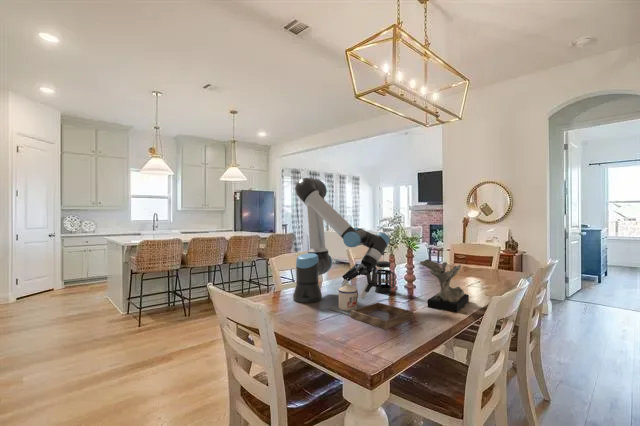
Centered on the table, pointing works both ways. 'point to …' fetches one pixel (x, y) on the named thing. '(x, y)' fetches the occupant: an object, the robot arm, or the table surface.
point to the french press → (383, 287)
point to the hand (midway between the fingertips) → (350, 294)
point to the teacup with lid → (348, 298)
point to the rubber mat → (336, 308)
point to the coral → (446, 288)
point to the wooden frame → (361, 315)
